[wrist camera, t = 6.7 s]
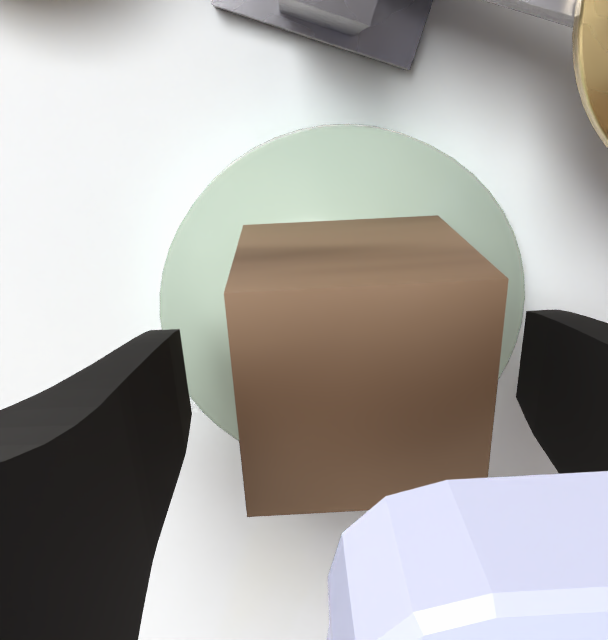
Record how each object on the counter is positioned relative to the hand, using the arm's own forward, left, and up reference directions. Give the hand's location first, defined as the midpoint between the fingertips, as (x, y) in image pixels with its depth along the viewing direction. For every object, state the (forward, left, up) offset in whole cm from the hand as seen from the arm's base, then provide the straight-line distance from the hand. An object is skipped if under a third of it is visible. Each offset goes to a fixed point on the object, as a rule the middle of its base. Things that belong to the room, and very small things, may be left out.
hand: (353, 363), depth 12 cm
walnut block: (0, 0, -2) cm, 2 cm away
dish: (0, 0, -3) cm, 3 cm away
